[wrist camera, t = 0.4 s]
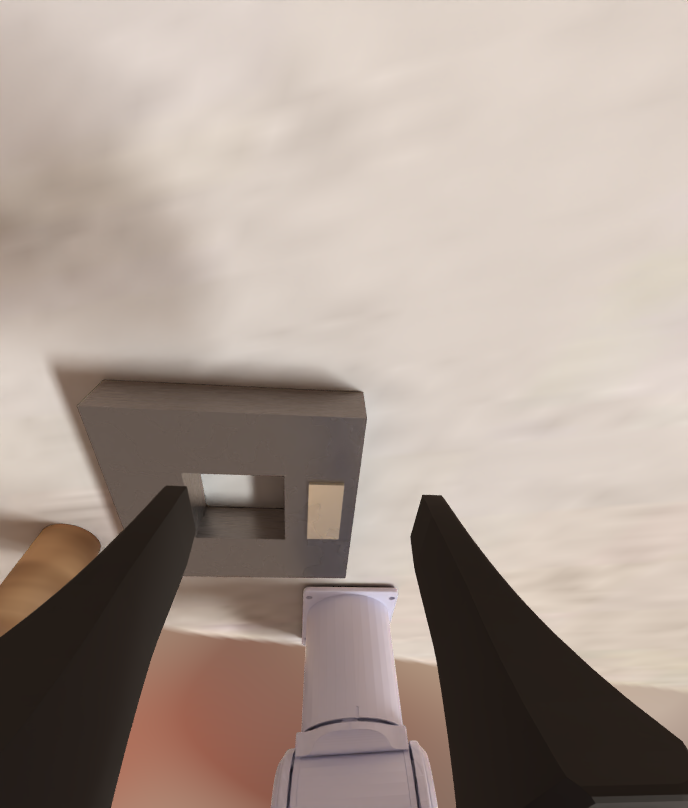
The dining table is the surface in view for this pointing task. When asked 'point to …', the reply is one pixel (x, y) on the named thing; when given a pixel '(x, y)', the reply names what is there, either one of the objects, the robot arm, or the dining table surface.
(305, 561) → the plate
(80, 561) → the peg
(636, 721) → the robot arm
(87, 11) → the dining table surface
